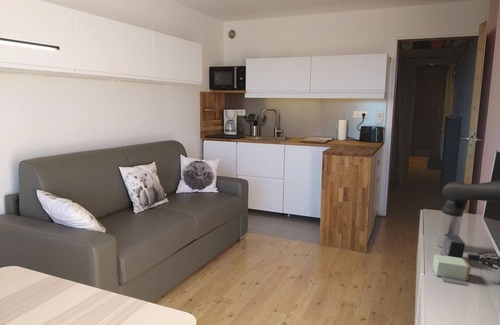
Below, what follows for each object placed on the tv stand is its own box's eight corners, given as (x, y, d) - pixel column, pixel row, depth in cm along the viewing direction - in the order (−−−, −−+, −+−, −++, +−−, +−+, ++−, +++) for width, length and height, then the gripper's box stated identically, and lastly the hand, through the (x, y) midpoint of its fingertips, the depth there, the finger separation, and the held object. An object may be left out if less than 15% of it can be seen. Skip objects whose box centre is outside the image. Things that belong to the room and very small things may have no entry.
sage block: (462, 271, 164) (432, 267, 167) (464, 258, 163) (434, 254, 166) (468, 280, 157) (436, 275, 159) (470, 266, 155) (438, 262, 158)
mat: (435, 266, 168) (435, 265, 168) (457, 269, 167) (457, 269, 166) (443, 281, 155) (443, 280, 155) (467, 285, 153) (468, 284, 153)
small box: (462, 265, 171) (466, 243, 169) (446, 263, 173) (450, 241, 170) (454, 255, 182) (458, 234, 179) (440, 253, 183) (443, 232, 181)
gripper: (509, 248, 161) (464, 242, 164) (524, 261, 148) (475, 255, 152) (506, 264, 162) (461, 258, 166) (520, 279, 150) (471, 272, 153)
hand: (468, 256), depth 159 cm, fingers closed
